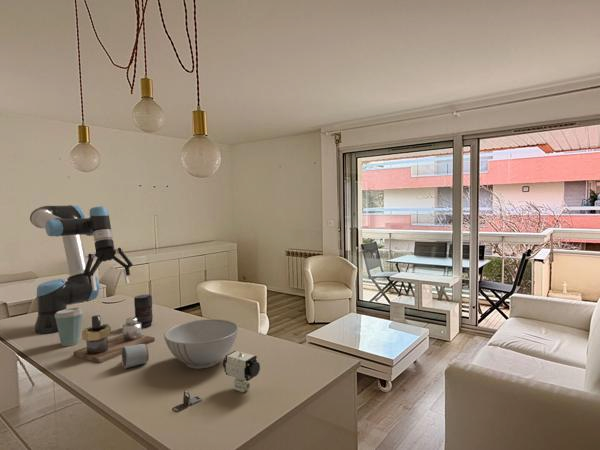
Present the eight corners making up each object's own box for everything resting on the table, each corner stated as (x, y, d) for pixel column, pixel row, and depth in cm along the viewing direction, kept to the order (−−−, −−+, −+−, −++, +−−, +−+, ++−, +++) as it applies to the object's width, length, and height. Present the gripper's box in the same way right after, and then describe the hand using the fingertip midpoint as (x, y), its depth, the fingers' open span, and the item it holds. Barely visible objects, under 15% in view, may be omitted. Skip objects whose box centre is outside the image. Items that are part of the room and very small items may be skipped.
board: (73, 355, 147) (73, 351, 147) (128, 335, 169) (128, 331, 169) (100, 363, 139) (100, 359, 139) (154, 340, 161) (154, 337, 161)
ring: (78, 338, 145) (77, 329, 144) (100, 330, 153) (100, 322, 153) (92, 342, 140) (92, 332, 140) (115, 334, 148) (114, 325, 148)
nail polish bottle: (82, 352, 145) (81, 317, 145) (100, 346, 152) (99, 312, 151) (94, 356, 142) (92, 320, 141) (112, 349, 148) (110, 315, 148)
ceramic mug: (150, 364, 136) (149, 344, 136) (126, 371, 131) (125, 350, 131) (141, 356, 145) (141, 337, 144) (119, 362, 139) (118, 342, 139)
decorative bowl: (159, 382, 123) (157, 346, 122) (171, 351, 149) (170, 321, 148) (240, 373, 128) (239, 339, 127) (238, 345, 154) (237, 316, 154)
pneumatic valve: (232, 381, 122) (231, 346, 121) (261, 390, 116) (260, 353, 115) (221, 389, 117) (220, 352, 117) (249, 398, 111) (248, 359, 110)
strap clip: (197, 398, 113) (196, 384, 112) (202, 401, 111) (202, 387, 110) (171, 409, 106) (170, 395, 106) (176, 413, 104) (176, 399, 104)
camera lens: (156, 323, 185) (154, 294, 184) (147, 328, 177) (146, 298, 176) (140, 323, 186) (139, 294, 185) (132, 328, 178) (130, 298, 177)
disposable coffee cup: (52, 349, 153) (50, 314, 152) (58, 341, 163) (57, 307, 162) (82, 345, 157) (80, 311, 156) (86, 337, 167) (84, 304, 166)
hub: (119, 339, 159) (118, 320, 159) (134, 334, 166) (133, 315, 165) (130, 342, 156) (129, 322, 155) (145, 336, 162) (144, 317, 162)
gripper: (70, 245, 160) (77, 293, 157) (130, 233, 165) (138, 279, 161) (77, 247, 167) (84, 293, 164) (134, 235, 172) (142, 280, 169)
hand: (111, 287), depth 163 cm, fingers open, 13 cm apart
